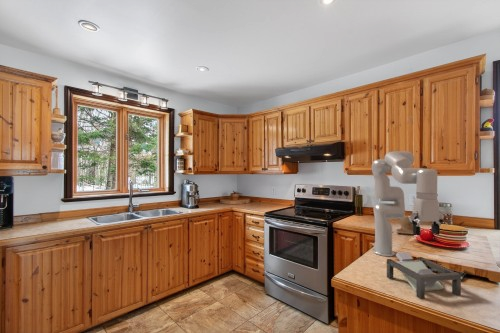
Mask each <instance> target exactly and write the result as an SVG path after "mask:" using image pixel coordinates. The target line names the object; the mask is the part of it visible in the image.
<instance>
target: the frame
mask: <svg viewBox="0 0 500 333" xmlns="http://www.w3.org/2000/svg"><path fill="white" fill-rule="evenodd" d="M417 260H421V261H422V262H423V263H424V265H425V266H426V267H429V268H430V267H431V268H433V269H436V270H438V271H440V272H442V273H441V274H438V273H434V274H427V275H420V274H418V273H416V272H414V271H412V270H410V269H408V268H406V267H405V266H403V265H401V264H399V263H397V262H398V261H395V260H393V259H391V258H387V259H386V278H387V279H389V280H394V268H395V269H396V270H398V271H399V272H400V273H402V272H403V273H405V274H407V275H408V276H410V277H412V278H414V279H416V292H415V294H416V295H415V296H416V298H418V299H420V300H424V299H425V298H426V293H425V292H426V291H425V282H431V281H439V282H441V281H442V282H443V281H451V287H452V288H451V294H453V295H454V296H457V297H458V296H461V295H462V286H461V285H462V279H461V274H459V273H456V272H454V271H452V270H450V269H447V268H445V267H443V266H440V265H438V263H437V262H433V261H431V260H429V259H427V258H424V257H423V256H419V257H417ZM436 263H437V264H436Z"/></svg>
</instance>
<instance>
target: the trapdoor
mask: <svg viewBox="0 0 500 333" xmlns="http://www.w3.org/2000/svg"><path fill="white" fill-rule="evenodd" d="M395 256H396V258H397V260H399V261H396V262H397V263H399V264H401V265H403V266H405V267H406V268H408V269H410V270H412V271H414V272H416V273H418V272H419V270H420V269H429V268H428V266H427V265H424V263H423V262H422V261H421V260H418V259H416V260H413V259H414V258H413V256H412V255H411V254H410V253H409V252H408V251H401V252H400V251H399V252H397V253H395ZM401 274H402V275H403V277H404V278H405V279H406V281H407V282H408V284H409V286H411V288H412V290H414V292H415V293H416V279H414V278H412V277H410V276H408V275H407V274H405V273H403V272H401ZM444 288H445V287H444V286H443V285H442V284H441V283H440V281H436V283H435V284H434V285H433V286H425V292H426V291H427V292H428V291H440V290H444Z"/></svg>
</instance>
